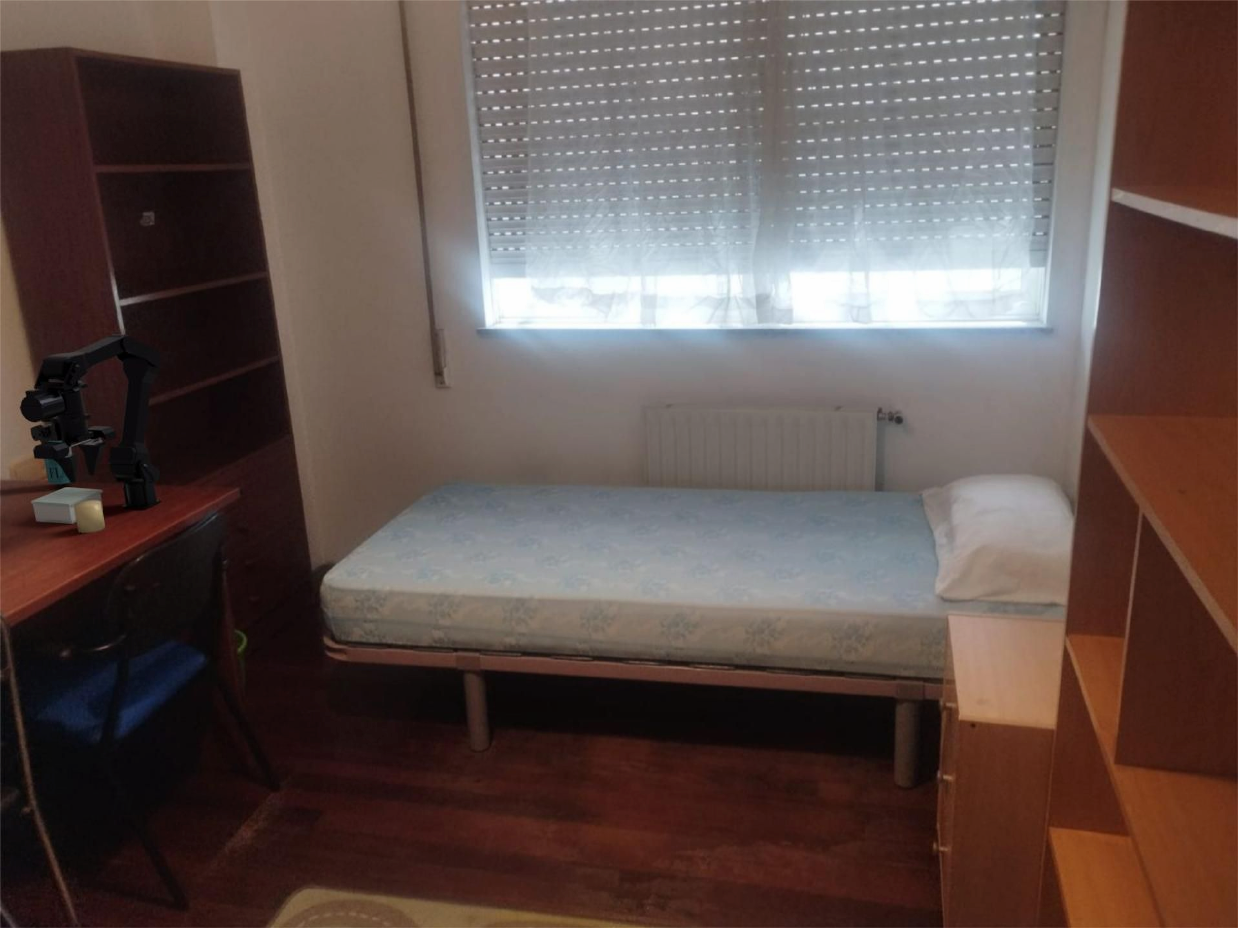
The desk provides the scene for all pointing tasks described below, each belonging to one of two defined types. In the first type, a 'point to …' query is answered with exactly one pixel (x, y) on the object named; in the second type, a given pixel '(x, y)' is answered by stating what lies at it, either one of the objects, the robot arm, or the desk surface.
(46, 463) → the beverage bottle
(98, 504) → the beige rounded cylinder
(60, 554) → the desk surface
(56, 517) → the storage box
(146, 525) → the desk surface
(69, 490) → the box lid
